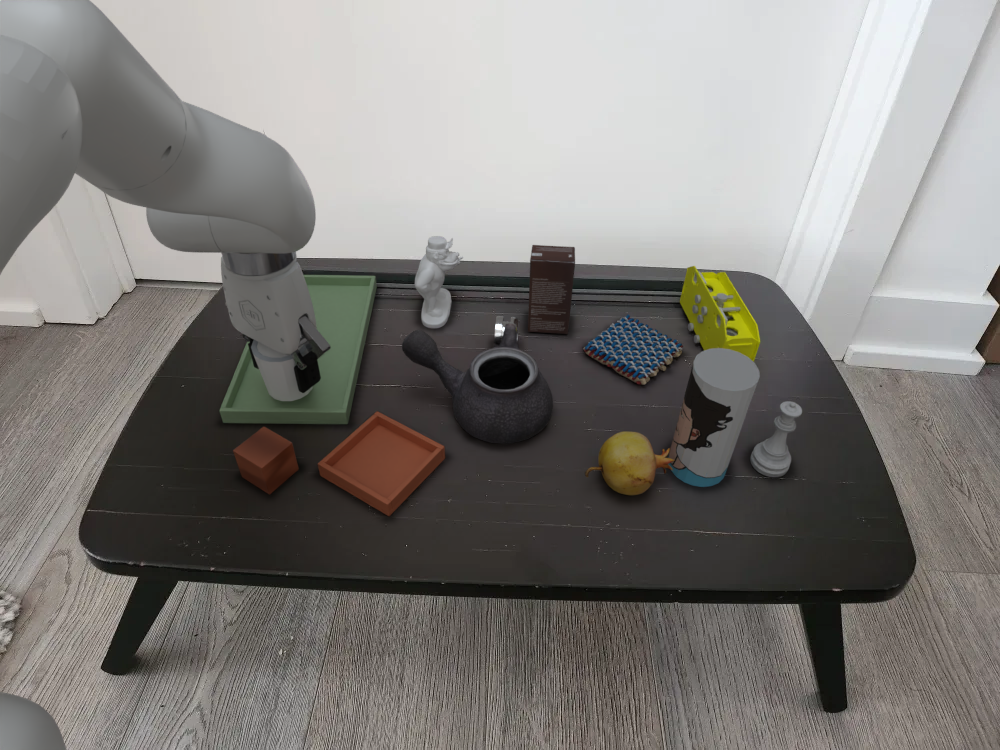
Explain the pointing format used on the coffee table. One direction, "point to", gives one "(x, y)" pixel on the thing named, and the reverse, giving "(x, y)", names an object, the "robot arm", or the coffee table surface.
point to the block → (266, 460)
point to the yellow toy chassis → (718, 313)
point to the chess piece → (776, 444)
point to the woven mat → (633, 349)
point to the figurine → (435, 281)
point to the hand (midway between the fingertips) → (287, 373)
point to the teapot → (491, 388)
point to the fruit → (629, 463)
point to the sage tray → (345, 328)
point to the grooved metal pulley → (502, 329)
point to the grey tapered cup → (278, 372)
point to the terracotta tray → (382, 462)
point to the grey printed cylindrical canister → (712, 415)
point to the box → (550, 288)
